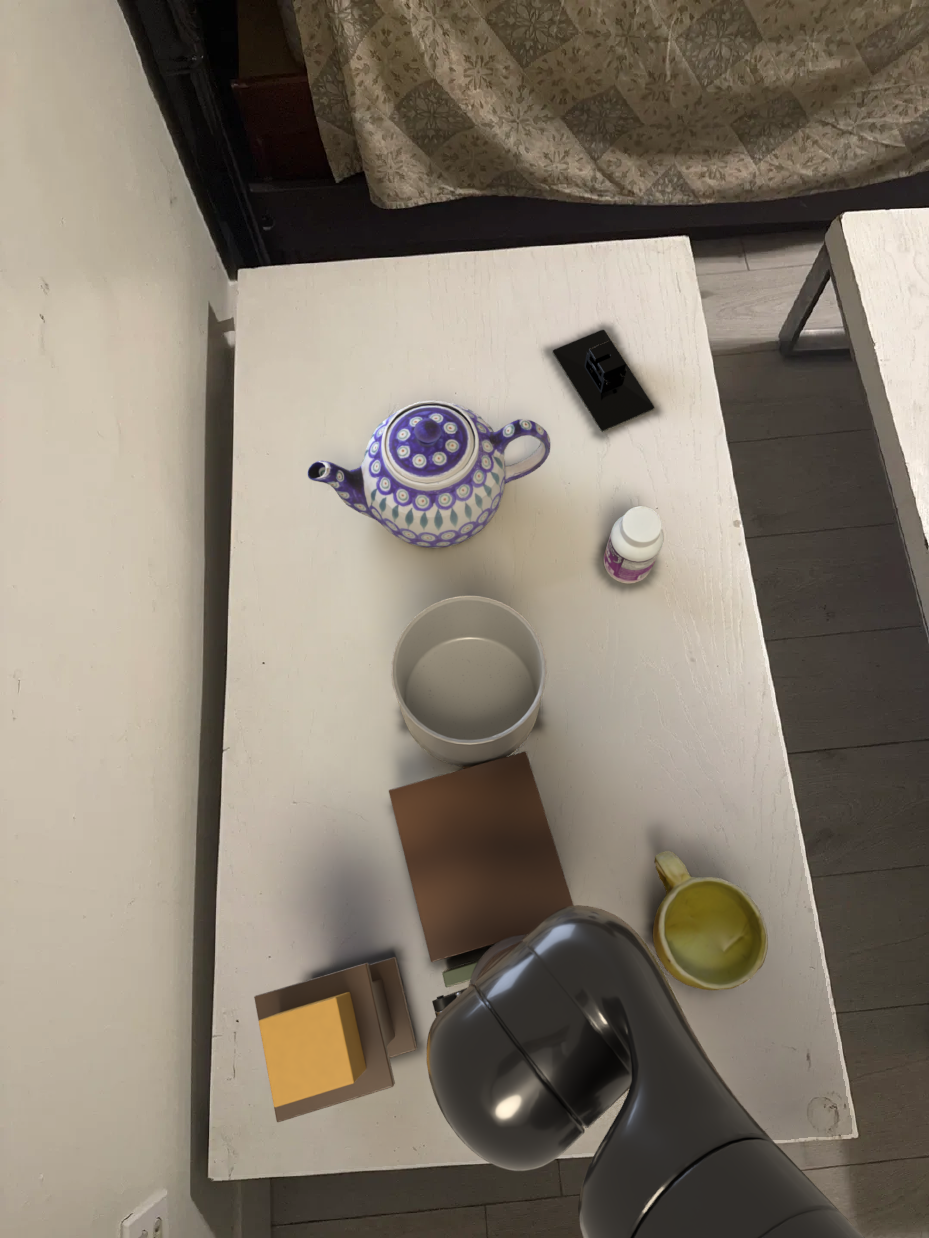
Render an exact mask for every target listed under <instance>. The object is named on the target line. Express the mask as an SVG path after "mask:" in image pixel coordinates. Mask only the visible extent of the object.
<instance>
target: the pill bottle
mask: <svg viewBox="0 0 929 1238" xmlns="http://www.w3.org/2000/svg"><path fill="white" fill-rule="evenodd" d="M664 538H665V535H664V530H663V520H662V517H661V516H660V514H659V513H658V512H657V511H655V509H653V508H651V507H648V506H645V505H638V506H634V507H632V508H629V509H628V510H627V511H626V512H625V513H624V514H623V515H621V516H620V517H619V518H618V519H617V520H616V521H615V522H614V524H613V525H612V528H611V531H610V534H609V537H608V541H607V544H606V548H605V550H604V555H603V566H604V569H605V571H606V573H608V575H609V576H610V577H611V578H612V579H613V580H615V581H616V582H619V583H622V584H635V583H638V582H641V581H643V580H644V579H645V578H646V577H648V575H649V574H650V572H651V571H652V568H653V567H654V564H655V562H656V560H657V559H658V556H659V555H660V551H661V550H662V549H663V548H662V547H663V545H664V540H665V539H664Z"/></svg>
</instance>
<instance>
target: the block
mask: <svg viewBox="0 0 929 1238" xmlns="http://www.w3.org/2000/svg"><path fill="white" fill-rule="evenodd" d="M258 1026H259V1032H260V1037H261V1042H262V1049H263V1054H264V1060H265V1065H266V1070H267V1076H268V1082H269V1087H270V1093H271V1098H272V1103H273V1104H272V1105H273V1108H274V1107H279V1106H282V1105H285V1104H288V1103H292V1102H295V1101H298V1100H301V1099H305V1098H308V1097H311V1096H314V1095H317V1094H321V1093H324V1092H327V1091H330V1090H334V1089H337V1088H340V1087H343V1086H347V1085H350V1084H353V1083H354V1082H355V1081H356V1080H357V1079H358V1078H359V1077H360V1076H361V1074H362V1073H363V1072H364V1071H365V1070H366V1064H365V1060H364V1055H363V1051H362V1046H361V1041H360V1037H359V1032H358V1027H357V1023H356V1018H355V1013H354V1009H353V1004H352V999H351V995H350V992H347V993H344V994H340V995H337V996H334V997H330V998H327V999H324V1000H320V1001H317V1002H314V1003H310V1004H307V1005H304V1006H300V1007H297V1008H294V1009H290V1010H287V1011H284V1012H280V1013H277V1014H275V1015H272V1016H269V1017H267V1018H264V1019H261V1020H259V1021H258Z"/></svg>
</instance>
